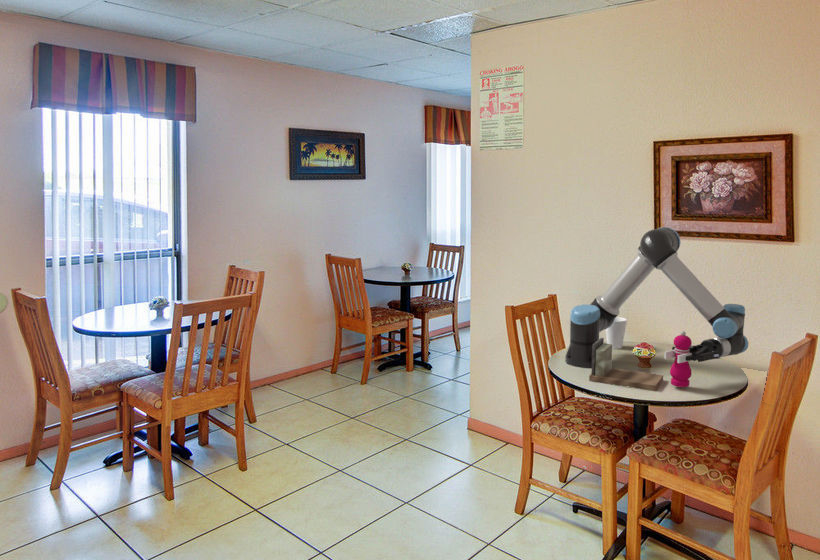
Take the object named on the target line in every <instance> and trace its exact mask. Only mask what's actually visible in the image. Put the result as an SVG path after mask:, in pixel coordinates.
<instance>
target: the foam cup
mask: <svg viewBox="0 0 820 560" xmlns="http://www.w3.org/2000/svg"><path fill="white" fill-rule="evenodd" d="M627 325H628V320H627V318H625V317H620V316H619V317H618V316H617V317H616V318H615V320H614V322H613V324H612V325H611V326H610V327H609V328H607V329H605V337H606V338H605V339H606V344H612V350H621V349H622V348H623V345H624V339H625V333H626V328H627Z"/></svg>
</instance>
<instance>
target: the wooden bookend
mask: <svg viewBox="0 0 820 560" xmlns="http://www.w3.org/2000/svg"><path fill="white" fill-rule="evenodd" d="M604 340H605V338H604V337H599V340H598V341H596V342H595V343H594V344H593V345H592V367H591V371H590V374H589V377H588V378H589V379H588V381H590V382H594V383H595V382H596V383H600V384H608V385H613V384H615V385H614V386H620V385H622V386H621V387H626V386H629V387H628V388H633V387H634V388H633V389H639V388H640V389H639V390H646V391H647V390H648V391H652V392H654V391H655V392H656V391H657V389H658V388H659V387H660V386H661V384H662V382H664V375H663V374H657V373H651V372H650V373H649V372H644V371H638V370H637V371H635V370H629V369H621V368H614V367H612V366H613V365H612V363H613V359H612V357H613V349H612V344H607V342H606V343H604V342H605V341H604Z"/></svg>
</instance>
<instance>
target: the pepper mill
mask: <svg viewBox="0 0 820 560" xmlns="http://www.w3.org/2000/svg"><path fill="white" fill-rule="evenodd" d="M673 346H674V347H676V348H675V352H676V357H674V361H673V363H672V364H671V367H670V369H669V370H670V371H669V374H670V376H671V377H672V378H670V384H671V385H672V386H674V387H679V388H687V387H689V386H690V378H691V377H692V369H691V367H690V364H689V361H687V362H682V363H677V358H678V355H682V354H687V353H690V352H689V350H690V349H689V347H690V346H692V339H691V337H689V336H688V335H687V332H686V331H684V330H682V331H680V334H679V335H676V336H675V337H674V338H673Z"/></svg>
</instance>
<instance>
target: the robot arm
mask: <svg viewBox="0 0 820 560" xmlns="http://www.w3.org/2000/svg"><path fill="white" fill-rule="evenodd" d="M680 246H681V238H680V235H679V234H678V232H677V231H676V230H675V229H673V228H671V227H667V226H661V227H658V228H655V229H651V230H648V231H646V232H645V233H644V234H643V236H642V237H641V240H640V245H639V246H638V247H637V254H636V256H635V257H634V258H633V259H632V260H631V262H630V263H629V264H628V265H627V267H626V268H625V269H623V271H622V272H621V273H620V274H619V276H618V277H617V278H616V279H615V280H614V281H613V282H612V284H611V285H610V286H609V287H608V288H607V290H606V291H604V293H603V294H602V295H597V296H596V297H595V298H594V299H593V300H592V302H591V303H590V304H580V305H576V306H574V307H572V309H571V311H570V315H569V316H570V317H569V319H570V324H569V326H570V327H569V329H570V330H569V333H570V334H569V335H570V337H569V345H568V348H567V351H566V354H565V361H564V362H566V364H568V365H571V366H573V365H574V367H580V368H581V367H582V368H592V345H593V344H594V343H595V342H596V341H598V340H599V339H600V333H601V332H602V331H604V330H605V331H606V329H607V328H609V327H610V326H611V325H612V324H613V322H614V320H615V318H616V317H618V316H619V315H620V308H621V307H622V306H623V305H624V304H625V302H626V301H627V300H628V299H629V298H630V296H631V295H632V294H633V293H634V292H635V291H636V290H637V289H638V288H639V287H640V285H641V284H642V283H643V282H644V281H645V279H646V278H647V277H648V276H649V275H650V274H651V273H652V272H653V270H655V269H656V270H660V271H662V273H663V274H664V275H665V276H666V277H667V279H669V281H670V282H671V283H672V284H673V285H674V286H675V287H676V288H677V289H678V290H679V292H680V293H681V294H682V295H683V296H684V297H685V298H686V300H688V301H689V302H690V304H691V305H693V307H694V308H695V309H696V311H698V312H699V314H701V316H703V318H704V319H705V320H706V321H707V322H708V323H709V325H710V326H711V328H712V332H713V334H714V335H716V337H714V338H709V339H704V340H703V341H701V342H700V343H699V344H696V345H691V346H690V347H689V349H690V350H689V352H690V353H687V354H682V355H678V358H677V363H682V362H687V361H688V362H691V361H693V362H695V361H697V362H698V363H700V362H706V361H710V360H715V359H717V360H718V359H721V358H725V357H729V356H734V355H735V356H737V355H739V354H742V353H745V352H746V351H747V350H748V348H749V341H748V338H747V337H746V336H745V335H744V329H745V327H744V326H745V316H746V307H745V306H744V305H742V304H737V303H726V304H724V305H722V304H721V302H720V301H719V300H718V299H717V298H716V297H715V296H714V295H713V294H712V293H711V291H710V290H708V288H707V287H706V286H705V285H704V284H703V283H702V282H701V281H700V279H698V278H697V276H696V275H695V274H694V273H693V272H692V271H691V269H690V268H688V267H687V265H685V264H684V262H683V261H682V260H681V259H680V258H679V257H678V255H679V254H678V250H679V249H680ZM675 348H676V347H675V346H672V347H671V350H670V349H669V350H665V351H664V355H663V359H664V360H669V359H673V358H674V359H675V357H676V352H675Z"/></svg>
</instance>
